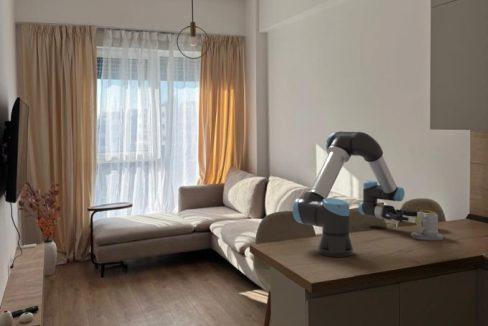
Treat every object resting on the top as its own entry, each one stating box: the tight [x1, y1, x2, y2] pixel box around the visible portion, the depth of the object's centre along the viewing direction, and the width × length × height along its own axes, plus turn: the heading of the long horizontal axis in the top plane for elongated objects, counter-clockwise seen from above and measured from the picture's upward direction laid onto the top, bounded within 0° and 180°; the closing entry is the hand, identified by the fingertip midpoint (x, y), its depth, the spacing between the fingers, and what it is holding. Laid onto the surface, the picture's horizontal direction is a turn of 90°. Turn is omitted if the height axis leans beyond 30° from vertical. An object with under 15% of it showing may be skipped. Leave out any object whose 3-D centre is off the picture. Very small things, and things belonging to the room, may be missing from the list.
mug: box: [416, 210, 440, 236], centre depth 228 cm, size 8×12×12 cm, turn 112°
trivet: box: [410, 230, 444, 242], centre depth 229 cm, size 15×15×1 cm
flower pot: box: [413, 209, 438, 227], centre depth 247 cm, size 9×9×9 cm
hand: (422, 218), depth 230 cm, fingers open, 13 cm apart
